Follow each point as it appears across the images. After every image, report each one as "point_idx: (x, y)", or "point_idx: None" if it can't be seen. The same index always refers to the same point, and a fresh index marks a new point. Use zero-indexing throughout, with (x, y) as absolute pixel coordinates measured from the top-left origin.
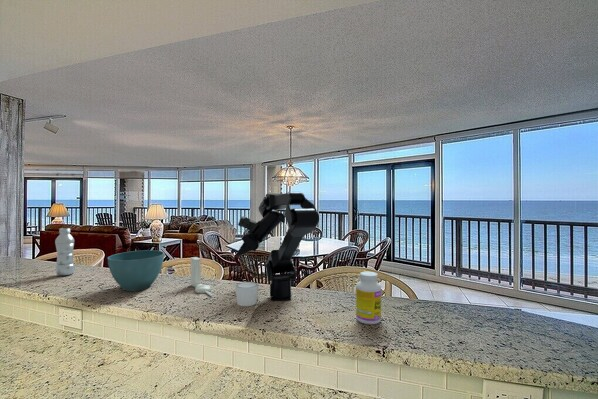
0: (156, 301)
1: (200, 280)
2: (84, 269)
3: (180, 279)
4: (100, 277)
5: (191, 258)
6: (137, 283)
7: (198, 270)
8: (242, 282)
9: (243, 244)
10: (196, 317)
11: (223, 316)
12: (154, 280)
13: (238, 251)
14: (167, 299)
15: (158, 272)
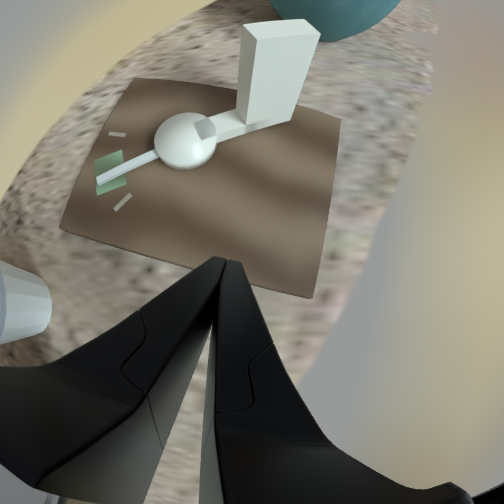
0: (181, 56)
1: (246, 116)
2: (422, 11)
3: (388, 100)
4: None
5: (294, 21)
6: (273, 7)
7: (245, 77)
8: (2, 287)
9: (77, 361)
10: (27, 166)
11: (6, 231)
12: (320, 33)
13: (186, 279)
14: (187, 72)
15: (321, 19)
